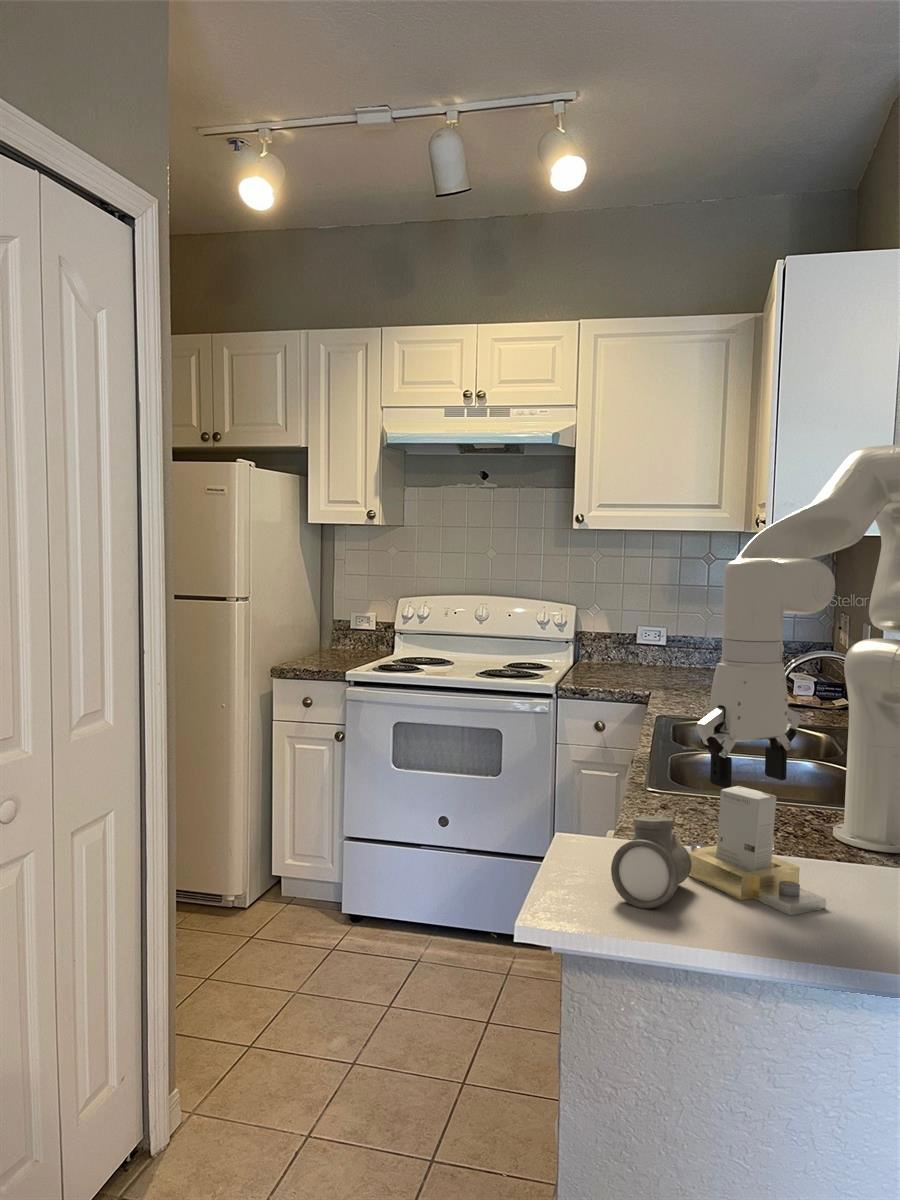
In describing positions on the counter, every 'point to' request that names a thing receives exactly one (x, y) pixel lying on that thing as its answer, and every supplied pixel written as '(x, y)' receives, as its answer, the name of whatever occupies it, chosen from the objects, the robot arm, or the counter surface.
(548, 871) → the counter surface
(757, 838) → the skincare box
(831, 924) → the counter surface
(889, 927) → the counter surface
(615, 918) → the counter surface
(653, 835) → the pipe fitting
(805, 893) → the open yellow tray
